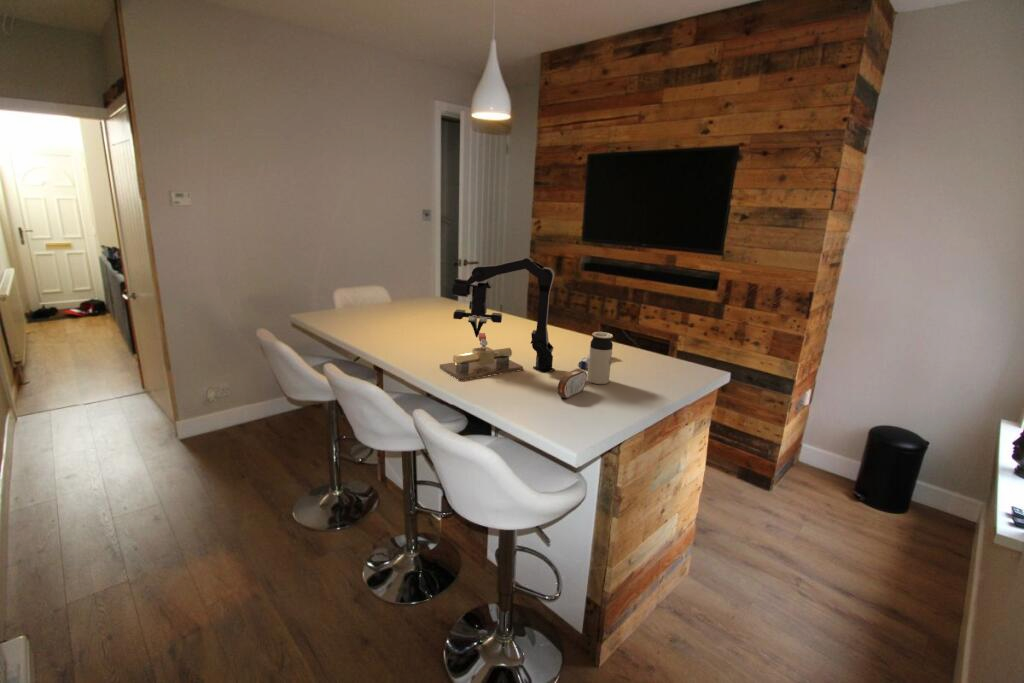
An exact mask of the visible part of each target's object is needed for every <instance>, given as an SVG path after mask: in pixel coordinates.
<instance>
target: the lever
mask: <svg viewBox="0 0 1024 683" xmlns="http://www.w3.org/2000/svg"><path fill="white" fill-rule="evenodd" d="M477 338H478V341H479V345H481V346H482V345H486V346H487V345H488V344H489V342H488V341H487V335H486V333H485V332H479V335H478V337H477Z"/></svg>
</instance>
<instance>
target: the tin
mask: <svg viewBox="0 0 1024 683" xmlns="http://www.w3.org/2000/svg"><path fill="white" fill-rule="evenodd" d="M587 376H588V373H587V372H586V370H583V369H580V368H576V369H573V370H570V371H569V372H566V373H564V374H563V375H562V376H561V377H560V378H559V381H558V384H557V395H558V396H559V397H562V398H565V399H569V398H571V397H574V396H575V395H578V394H580V393H582V391H583V390H584V388H585V387H586V384H587Z"/></svg>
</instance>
